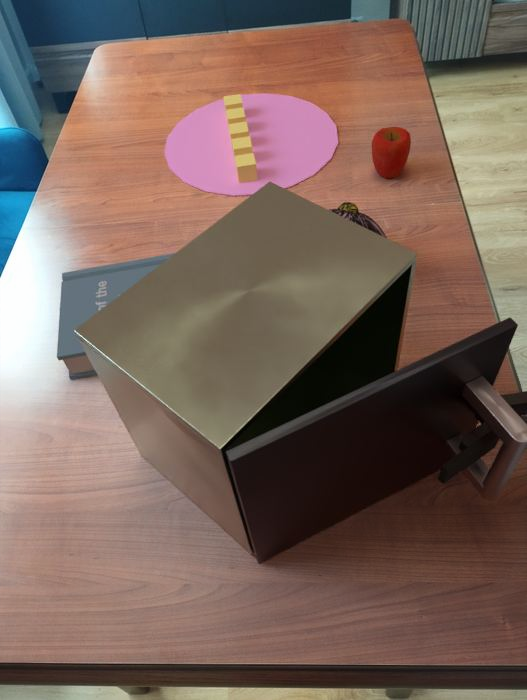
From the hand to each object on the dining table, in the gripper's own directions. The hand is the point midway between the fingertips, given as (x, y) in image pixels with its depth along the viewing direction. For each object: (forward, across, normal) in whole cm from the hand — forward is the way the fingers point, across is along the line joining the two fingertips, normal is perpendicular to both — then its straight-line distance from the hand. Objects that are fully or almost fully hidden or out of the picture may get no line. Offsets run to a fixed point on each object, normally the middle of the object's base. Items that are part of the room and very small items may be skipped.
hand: (499, 536), depth 48 cm
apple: (-36, +55, -12) cm, 67 cm away
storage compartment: (+7, +26, -12) cm, 30 cm away
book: (+11, +50, -12) cm, 53 cm away
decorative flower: (-16, +42, -12) cm, 47 cm away
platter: (-24, +78, -12) cm, 83 cm away
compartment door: (+4, +9, -12) cm, 15 cm away
